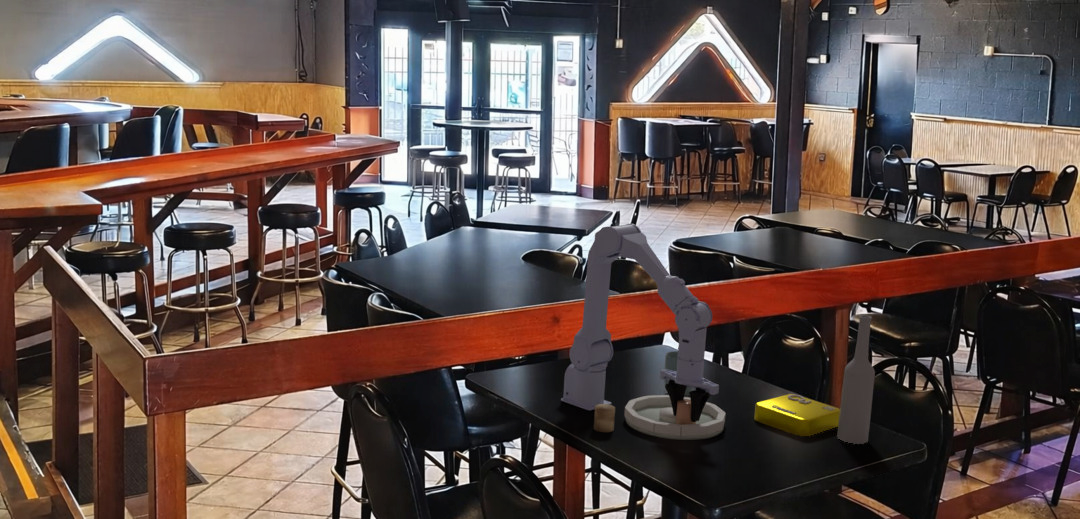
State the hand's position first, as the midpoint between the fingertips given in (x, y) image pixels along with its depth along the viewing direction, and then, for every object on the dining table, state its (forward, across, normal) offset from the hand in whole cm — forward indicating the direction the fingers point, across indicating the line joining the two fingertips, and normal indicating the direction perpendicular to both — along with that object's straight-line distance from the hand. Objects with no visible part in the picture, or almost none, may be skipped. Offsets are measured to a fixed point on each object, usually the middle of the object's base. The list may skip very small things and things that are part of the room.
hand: (686, 417), depth 230 cm
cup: (+4, -19, +21) cm, 28 cm away
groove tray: (+3, -6, +3) cm, 7 cm away
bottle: (+4, +25, +27) cm, 37 cm away
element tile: (+4, +11, +27) cm, 30 cm away
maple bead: (+3, -13, -13) cm, 18 cm away
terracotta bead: (+1, 0, 0) cm, 1 cm away
